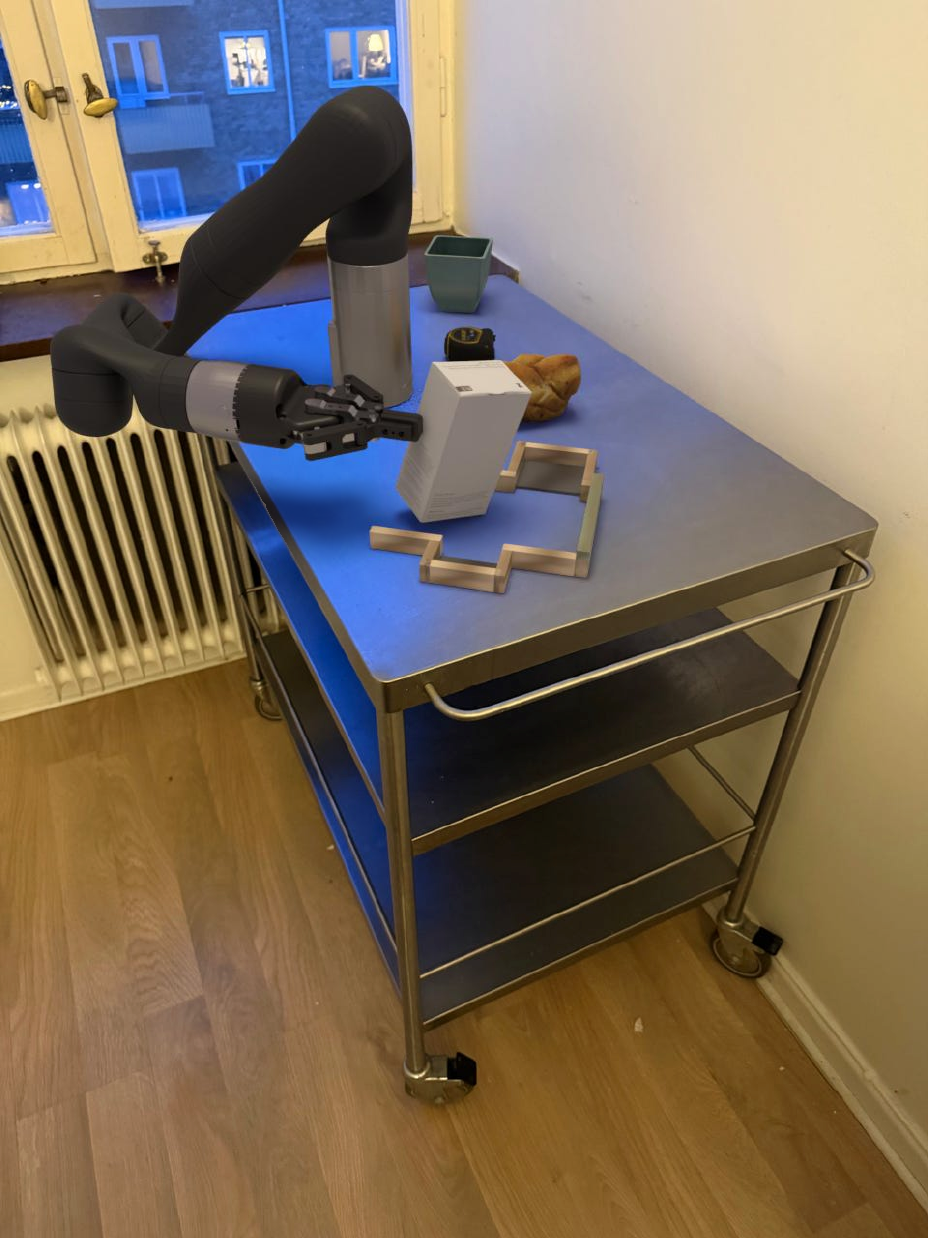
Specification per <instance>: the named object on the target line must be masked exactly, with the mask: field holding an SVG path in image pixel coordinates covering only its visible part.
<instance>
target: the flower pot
mask: <svg viewBox="0 0 928 1238" xmlns="http://www.w3.org/2000/svg"><path fill="white" fill-rule="evenodd" d="M493 239H494V238H491V237H484V236H483V237H479V236H477V237H476V236H475V237H474V236H458V235H457V236H454V235H439V234H438V235H435V236H433V238H432V240H431V241H430V244H429V246H428V247H427V249H426V251H425V252H424V255H423V256H424V263H425V270H426V277H427V283H428V288H429V291H430V294H431V297H432V299H433V302H434V303H435V304H436V306H437V307H438V309H439V310H440V311H441V312H449V313H467V314H472V313H474V312H475V311H476V309H477V307H478V305H479V303H480V300H481V298H482V296H483V293H484V291H485V288H486V285H487V282H488V278H489V275H490V270H491V269H490V267H491V260H492V252H493V251H492V250H493V241H494V240H493Z"/></svg>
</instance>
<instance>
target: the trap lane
mask: <svg viewBox="0 0 928 1238" xmlns="http://www.w3.org/2000/svg"><path fill="white" fill-rule="evenodd" d="M598 452H599V450H598V449H591V448H590V449H589V448H582V447H574V446H563V445H555V444H547V443H540V442H539V443H538V442H529V441H522V440H518V441H517V442H516V444H515V448H514V451H513V453H512V456H511V458H510V462H509V464H508V468H507V470H505V469H502V471H501V474H500V476H499V479H498V481H497V484H496V487H495V489H494V492H496V491H497V492H503V493H504V492H506V493H512V494H514V493H515V492H516V489H519V490H520V489H521V490H528V491H529V490H531V491H537V492H546V493H554V494H563V495H570V496H579V502H582V503H583V502H584V503H586V505H585V509H584V515H583V518H582V519H583V520H582V524H581V530H580V534H579V539H578V543H577V544H578V545H577V548H576V552H570V551H563V550H556V549H547V548H542V547H541V548H540V547H534V546H525V545H519V544H518V545H517V544H510V543H503V545H502V548H501V552H500V555H499V557H498V560H497V562H490V561H482V560H477V559H476V560H475V559H470V558H460V557H456V556H455V557H454V556H446V555H442V554H443V552H444V551H443V544H444V543H443V534H436V533H431V532H430V533H429V532H422V531H414V530H408V529H407V530H405V529H399V528H391V527H384V526H377V525H372V526H371V529H370V530H369V541H370V542H369V543H370V549H373V550H381V551H386V552H387V551H388V552H395V553H403V554H408V555H417V556H422V558H421V559H420V561H419V568H418V569H419V582H420V583H427V584H432V585H433V584H435V585H442V586H449V587H455V588H456V587H457V588H460V589H470V590H477V591H482V592H489V593H495V594H496V593H497V594H505V592H506V588H507V583H508V582H509V577H510V574H511V570H512V569H517V570H518V569H519V570H523V571H524V570H525V571H530V572H531V571H533V572H538V573H546V574H554V575H561V576H569V577H576V578H582V579H583V578H584V579H587V577H588V574H589V568H590V563H591V555H592V552H593V545H594V541H595V540H594V539H595V535H596V530H597V524H598V518H599V513H600V507H601V502H602V496H603V488H604V481H605V473H598V472H596V470H597V464H598V463H597V462H598V455H599V453H598Z"/></svg>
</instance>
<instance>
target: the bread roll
mask: <svg viewBox="0 0 928 1238" xmlns="http://www.w3.org/2000/svg"><path fill="white" fill-rule="evenodd" d="M501 361H502V362H503V363H504V364H505V365H506V366H507V367H508V368H509V369H510V371H511V372H512V373H513V374H514V375H515V376H516V377H517V378H518V379H519V380H520V381H521V382H522V383H523V384H524V385H525V386H526V387H527V388H528V389H529V390H530V391H531V392H532V394H531V397H530V399H529V401H528V404H527V406H526V409H525V412H524V414H523V417H522V419H521V422H520V423H524V424H529V423H530V424H531V423H532V424H535V423H536V424H537V423H545V422H549V421H550V420H551V421H552V420H553V419H556V418H558V417H560V416H561V415H562V414H563V413H564V412H565V411H566V409H567V408H568V404H569V401H570V399H571V397H572V396H574V395H575V394H577V393H578V391H579V388H580V386H581V381H582V373H581V366H580V361H579V359H578V357H577V356H576V355H573V354H569V353H561V354H554V355H549V356H547V357H546V356H545V355H542V354H539V353H538V354H537V353H525V352H522V353H521V354H520V355H518V356H517V357H515V358H514V359H512V361H507V360H501Z"/></svg>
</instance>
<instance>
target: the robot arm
mask: <svg viewBox="0 0 928 1238" xmlns="http://www.w3.org/2000/svg"><path fill="white" fill-rule="evenodd" d="M413 160H414V159H413V142H412V133H411V127H410V123H409V120H408V117H407V114H406V112H405V110H404V108H403V107H402V105H401V104H400V103H399V101H398V100H397V98H395V96H394V95H392V94H391V93H390V92H389V91H387V90H386V89H383V88H381V87H379V86H375V85H369V84H368V85H358V86H355V87H352V88H350V89H348V90H346V91H344V92H342V93H340V94H338V95H336V96H334V97H333V98H330V99H328V100H327V101H326V102H324V103H322V105H321V106H319V107H318V108H317V110H316V111H315V112H314V113H313V114H312V116H311V117H310V118H309V119H308V121H307V122H306V123H305V124H304V126H303V127H302V129H301V130H300V132H298V134H297V135H296V137H295V138H294V139H293V140H292V142H291V143H290V144H289V145H288V147H286V149H285V150H284V151H283V153H282V154H281V155H279V158H277V160H276V161H275V162H274V163H273V164H272V165H271V166H270V168H268V170H267V171H266V172H265V173H264V174H263V175H261V176H260V177H259V178H258V179H256V180H255V181H254V182H253V183H252V182H251V183H250V184H249V185H248V186H246V187H245V188H243V189H242V190H240V191H239V192H238V193H236V194H235V195H234V196H233V197H231V198H230V199H228V201H226V202H225V203H224V204H223V205H222V206H220V207H219V208H218V209H216V211H214V212H213V213H212V214H211V215H210V216H209V217H208V218H207V219H206V220H205V221H204V222H203V223H202V224H201V225H200V226H199V227H198V228H197V229H196V230H195V231H193V233H192V234H191V235H189V236H188V238H187V240H186V241H185V243H184V246H183V247H182V252H181V254H180V259H179V266H178V267H179V268H178V277H177V278H178V279H177V291H176V293H177V296H176V306H175V310H174V315H173V317H172V318H173V319H172V321H171V324H170V326H169V329H167V327H166V326H165V325H164V324H163V322H161V321H160V319H158V318H157V317H156V316H155V315H154V314H153V313H152V312H151V310H150V309H148V308H147V307H146V306H145V304H144V303H143V302H141V301H140V300H139V299H138V298H137V297H136V296H134V295H132V294H130V293H127V292H124V291H123V292H117V293H114V294H112V295H110V296H108V297H107V298H105V299H104V300H103V301H101V302H100V303H99V304H98V305H97V306H96V307H95V308H94V309H93V310H92V311H91V312H90V313H89V314H88V315H87V316H86V318H84V320H83V322H82V323H79V324H71V325H68V326H65V327H63V328H61V329H59V330H58V331H57V332H56V333H55V334H54V335H53V337H52V338H51V341H50V345H49V354H50V356H49V358H50V366H51V377H52V378H51V379H52V387H53V401H54V408H55V411H56V412H55V413H56V416H57V417H58V419H59V421H60V422H61V423H62V425H63V426H64V427H65V428H67V429H68V430H69V431H71V432H73V433H75V434H77V435H80V436H82V437H83V436H84V437H88V438H103V437H108V436H111V435H114V434H116V433H118V432H120V431H121V430H123V429H124V428H125V427H127V425H128V424H129V423H130V421H131V419H132V416H133V410H134V400H135V403H136V406H137V408H138V411H139V414H140V415H141V418H143V420H144V421H145V422H147V423H148V424H149V425H151V426H152V427H157V428H159V429H166V430H171V431H179V432H184V433H185V432H186V433H192V434H198V435H203V436H206V437H207V436H208V437H211V438H214V439H216V440H221V441H227V442H233V443H239V444H240V443H241V444H247V445H251V446H253V445H254V446H259V447H267V448H273V449H280V450H288V449H290V448H292V447H293V446H294V445H295V444H300V445H301V446H302V447H303V452H304V458H305V460H306V461H308V462H314V461H315V462H316V461H319V460H324V459H328V458H333V457H337V456H342V455H347V454H351V453H356V452H360V451H365V450H367V449H368V447H369V446H368V443H370V442H377V441H379V440H380V439H385V440H386V439H387V440H393V441H394V440H395V441H402V442H409V441H410V442H417V441H418V440H419V438H420V436H421V435H422V433H423V417H422V416H421V415H420V414H417V412H416V413H414V412H411V411H410V412H408V411H401V410H394V409H388V408H391V407H394V406H397V405H400V404H403V403H405V402H406V401H408V400H409V399H410V398H411V396H412V395H413V391H414V389H413V388H414V387H413V386H414V385H413V377H414V376H413V364H412V363H413V358H412V357H413V355H412V330H411V329H412V327H411V326H412V325H411V322H412V321H411V301H410V300H411V299H410V298H411V296H410V295H411V294H410V293H411V292H410V269H409V267H410V265H409V262H410V261H409V233H410V229H411V223H412V219H413V199H414V198H413V190H414V189H413V183H414V182H413V181H414V180H413V179H414V178H413V177H414V176H413V171H414V169H413V168H414V167H413V164H414V163H413V162H414V161H413ZM327 221H328V222H327ZM325 222H327V225H326V228H325V234H324V235H325V247H326V248H325V249H326V257H327V258H326V259H327V268H328V278H329V280H328V281H329V289H330V298H331V299H330V300H331V311H332V319H330V321H329V322H328V323H327V335H328V346H329V354H330V355H329V356H330V357H329V358H330V366H331V376H332V378H331V379H332V386H331V385H330V384H326V383H319V384H307V383H306V382H305V381H304V380H303V378H302V377H301V375H300V374H299V373H298V372H297V371H296V370H294V369H292V368H286V367H278V366H271V365H263V364H257V363H248V362H241V361H235V360H209V359H207V360H206V359H200V358H193V357H186V356H185V357H184V355H185V354H186V353H187V352H188V351H189V350H190V349H191V348H192V347H193V346H194V345H195V344H196V343H197V342H198V341H199V340H200V339H201V338H202V337H203V336H205V334H206V333H207V332H208V331H210V330H211V329H212V328H213V327H214V326H216V325H217V324H218V323H220V321H221V320H223V319H225V318H226V317H227V316H228V315H229V314H231V313H232V312H233V311H235V310H236V309H237V308H239V307H240V306H241V305H243V304H244V303H245V302H246V301H248V300H249V299H250V298H251V297H253V295H255V294H256V293H257V292H259V291H260V290H261V289H262V288H263V287H264V286H265V285H267V284H268V283H269V282H270V281H271V280H272V279H273V278H274V277H275V276H276V275H277V274H278V273H279V272H280V271H281V270H282V269H283V268H284V267H285V266H286V264H287V263H288V262H289V261H290V260H291V259H292V257H293V256H294V254H296V252H297V250H298V248H300V246H301V244H302V243H303V242H304V241H305V240H306V239H307V238H308V236H309V235H310V234H312V232H313V231H314V230H316V229H317V228H319V227H320V225H323V224H324V223H325Z"/></svg>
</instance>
